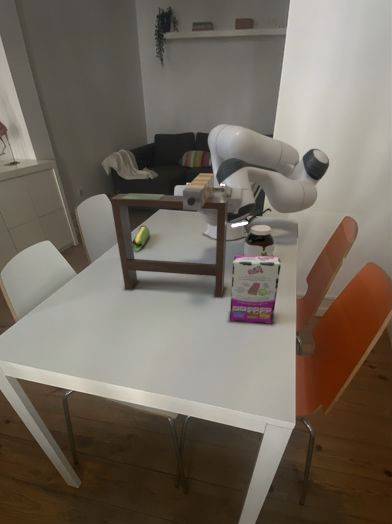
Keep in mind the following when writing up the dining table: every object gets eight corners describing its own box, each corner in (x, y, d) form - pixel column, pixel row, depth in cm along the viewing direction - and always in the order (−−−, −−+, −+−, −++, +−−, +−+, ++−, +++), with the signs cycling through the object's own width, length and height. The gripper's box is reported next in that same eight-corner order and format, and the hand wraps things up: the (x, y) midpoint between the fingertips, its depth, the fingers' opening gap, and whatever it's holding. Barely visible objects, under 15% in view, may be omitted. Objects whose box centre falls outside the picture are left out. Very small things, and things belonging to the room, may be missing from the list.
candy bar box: (271, 314, 86) (280, 255, 76) (272, 324, 82) (282, 264, 72) (229, 311, 87) (233, 253, 77) (228, 321, 83) (232, 261, 73)
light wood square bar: (199, 189, 90) (199, 173, 88) (213, 189, 90) (214, 173, 87) (182, 210, 72) (181, 191, 70) (199, 211, 72) (199, 192, 69)
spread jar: (244, 265, 112) (247, 231, 104) (240, 253, 121) (242, 221, 113) (278, 264, 112) (284, 231, 105) (271, 252, 121) (276, 221, 114)
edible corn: (151, 235, 138) (150, 224, 135) (143, 252, 122) (142, 240, 120) (139, 234, 138) (138, 224, 136) (130, 252, 123) (128, 240, 120)
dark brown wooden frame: (131, 280, 103) (118, 192, 87) (223, 287, 98) (228, 196, 82) (125, 289, 98) (110, 198, 82) (221, 297, 94) (225, 202, 78)
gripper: (179, 190, 100) (169, 172, 87) (244, 192, 97) (244, 174, 84) (178, 211, 101) (167, 197, 88) (242, 214, 98) (241, 199, 85)
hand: (205, 186), depth 86 cm, fingers open, 8 cm apart
